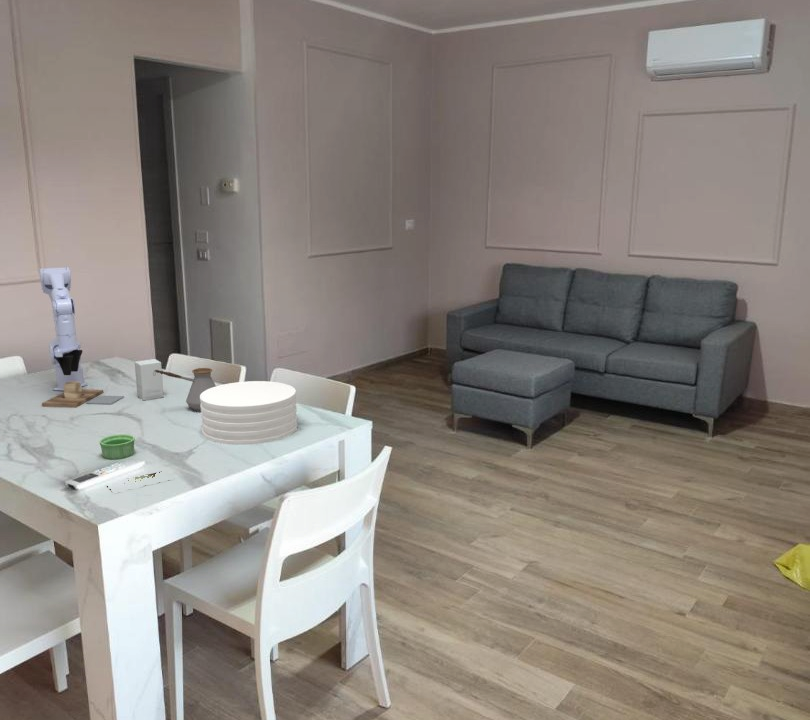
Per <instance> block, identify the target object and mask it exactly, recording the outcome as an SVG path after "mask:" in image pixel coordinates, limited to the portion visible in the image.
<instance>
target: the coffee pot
mask: <svg viewBox="0 0 810 720" xmlns="http://www.w3.org/2000/svg"><path fill="white" fill-rule="evenodd" d="M154 372H157V373H161V374H162V375H165V376H167V377H171V378H176V379H182V380H185V381H189V382H192V383H191V385H190V386H191V387H190V389H189V391H188V394H187V397H186V400H185V401H186V404H187V406H188V407H189V408H191V409H192V410H194V411H195V412H196V411H197V412H201V407H200V404H201V402H200V395H201V393H202V392H204V391H205V390H207V389H210V388H212V387H216V386H217V385H216V384H215V382H214V380H213V378H212V376H211V375H212V374H211V373H212V372H213V369H212V368H211V367H210V368H209V367H198V368H195V369H193V370H192V371H191V372H192V373H193V376H194V378H191V377H187V376H183V375H179V374H177V373H173V372H169V371H164V370H162V371H159V370H155V371H154ZM154 372H153V376H155V375H156V373H155V375H154Z"/></svg>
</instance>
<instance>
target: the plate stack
mask: <svg viewBox="0 0 810 720" xmlns="http://www.w3.org/2000/svg"><path fill="white" fill-rule="evenodd" d="M296 393H297V392H296V388H295V387H294V386H292V385H290V384H287V383H283V382H277V381H267V380H262V381H261V380H252V381H247V380H246V381H238V382H237V381H236V382H229V383H224V384H220V385H216V387H212V388H210V389H207V390H205V391H204V392H202V393H201V395H200V402H201V404H200V407H201V411H200V415H201V416H200V418H201V428H202V429H201V431H202V432H201V433H202V436H203V438H205V439H206V440H209V441H212V442H213V443H219V444H223V445H224V444H225V445H235V446H236V445H241V446H242V445H244V446H245V445H258V444H264V443H269V442H273V441H278V440H281V439H283V438H287V437H288V436H290V435H292V434H294V433H295V432H296V431H297V429H298V415H297V398H296V395H297V394H296Z"/></svg>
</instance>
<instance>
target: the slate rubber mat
mask: <svg viewBox="0 0 810 720" xmlns="http://www.w3.org/2000/svg"><path fill="white" fill-rule="evenodd" d="M124 398H125V396H124V395H99V396H97V397H95V398H93V399H91V400H89V401H88V402H86V403H85V405H113V404H115V403H117V402H118V401H120V400H122V399H124Z"/></svg>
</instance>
